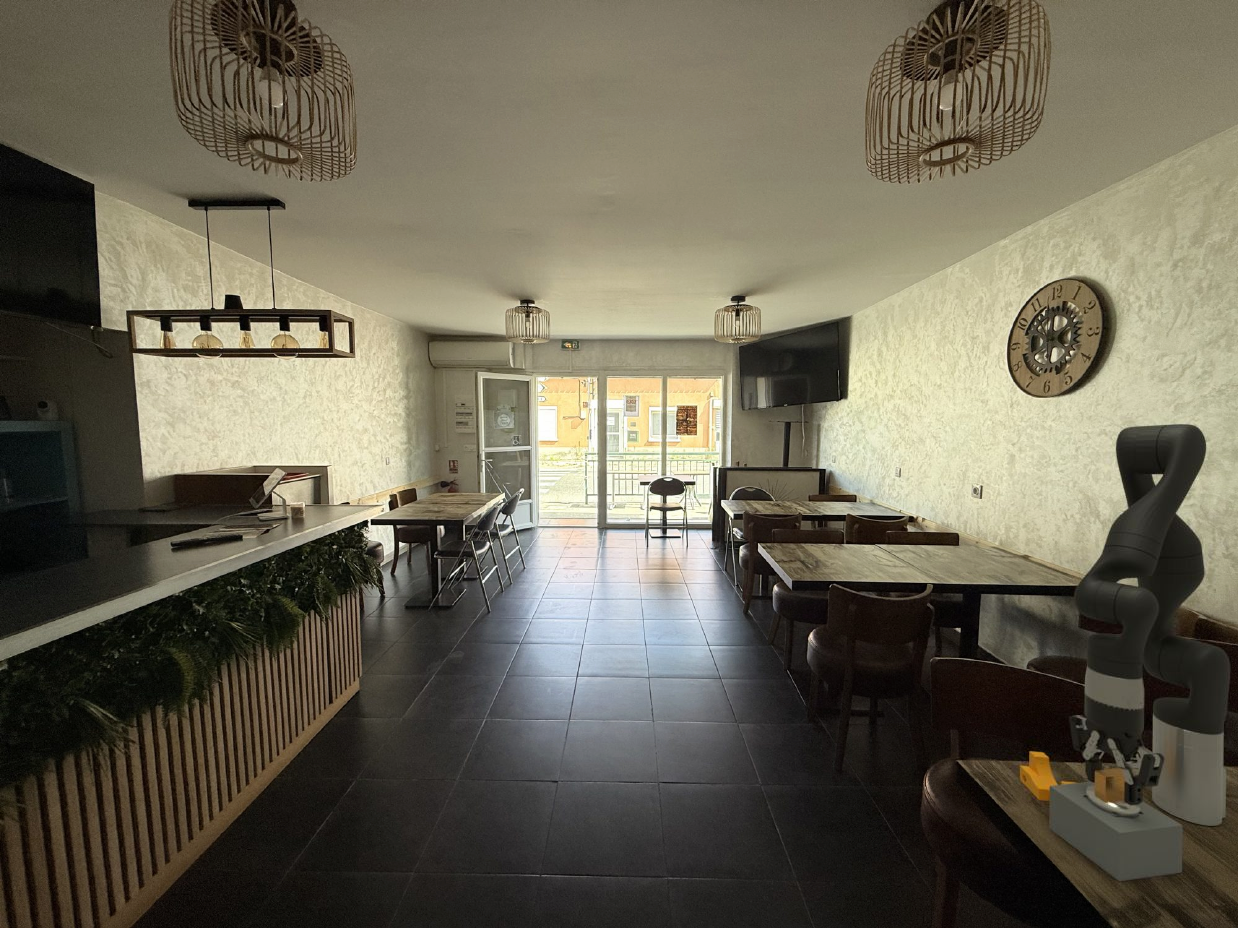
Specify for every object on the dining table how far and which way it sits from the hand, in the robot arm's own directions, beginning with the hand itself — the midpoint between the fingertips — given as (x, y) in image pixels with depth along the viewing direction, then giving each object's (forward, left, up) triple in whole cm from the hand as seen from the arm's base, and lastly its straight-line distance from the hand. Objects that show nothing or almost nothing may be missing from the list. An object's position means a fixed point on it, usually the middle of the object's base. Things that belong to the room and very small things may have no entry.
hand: (1112, 791), depth 91 cm
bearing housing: (0, 0, -10) cm, 10 cm away
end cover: (0, 0, -5) cm, 5 cm away
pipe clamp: (-2, -13, -11) cm, 17 cm away
